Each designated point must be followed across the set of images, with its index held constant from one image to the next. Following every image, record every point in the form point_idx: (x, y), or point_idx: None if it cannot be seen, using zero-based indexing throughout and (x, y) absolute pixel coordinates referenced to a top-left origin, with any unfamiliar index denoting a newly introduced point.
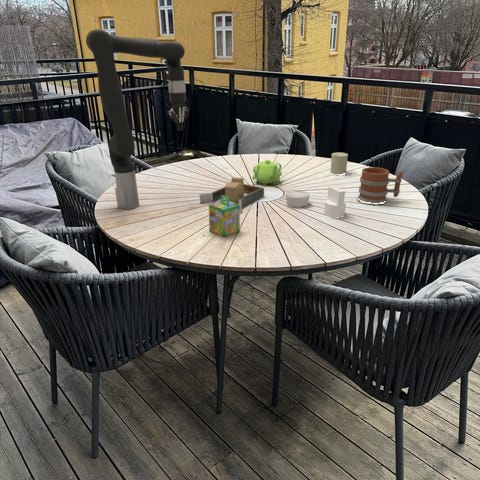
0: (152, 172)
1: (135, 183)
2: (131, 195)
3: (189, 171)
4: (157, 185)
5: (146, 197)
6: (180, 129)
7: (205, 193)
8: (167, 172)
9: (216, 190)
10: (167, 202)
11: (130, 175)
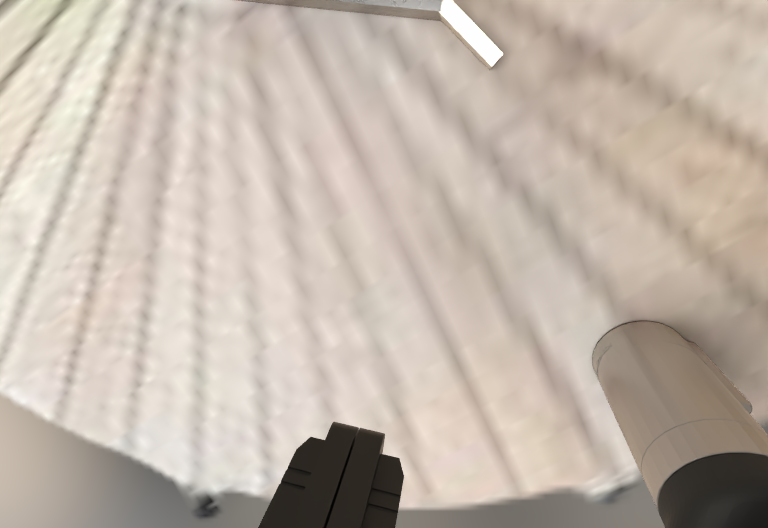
0: (236, 469)
1: (688, 392)
2: (701, 363)
3: (144, 357)
4: (354, 384)
5: (508, 350)
6: (381, 447)
7: (466, 38)
8: (205, 424)
9: (388, 5)
10: (538, 232)
11: (762, 441)
